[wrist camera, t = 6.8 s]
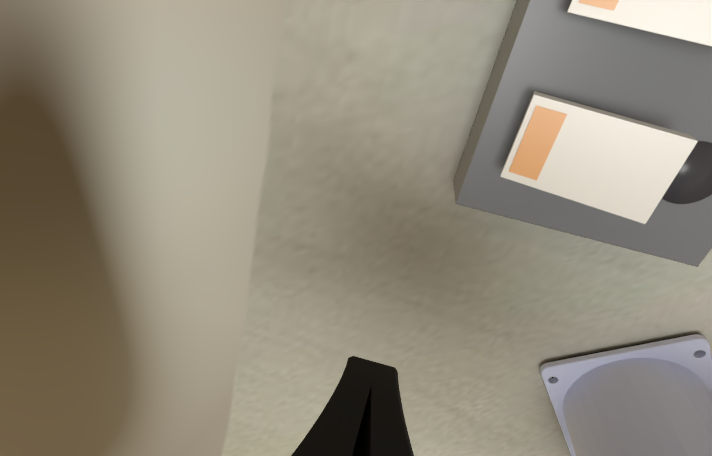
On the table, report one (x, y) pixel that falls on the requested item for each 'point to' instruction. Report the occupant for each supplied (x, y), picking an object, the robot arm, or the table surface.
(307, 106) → the table surface
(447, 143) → the table surface
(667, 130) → the white rectangular block
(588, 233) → the power strip
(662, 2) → the rocker
